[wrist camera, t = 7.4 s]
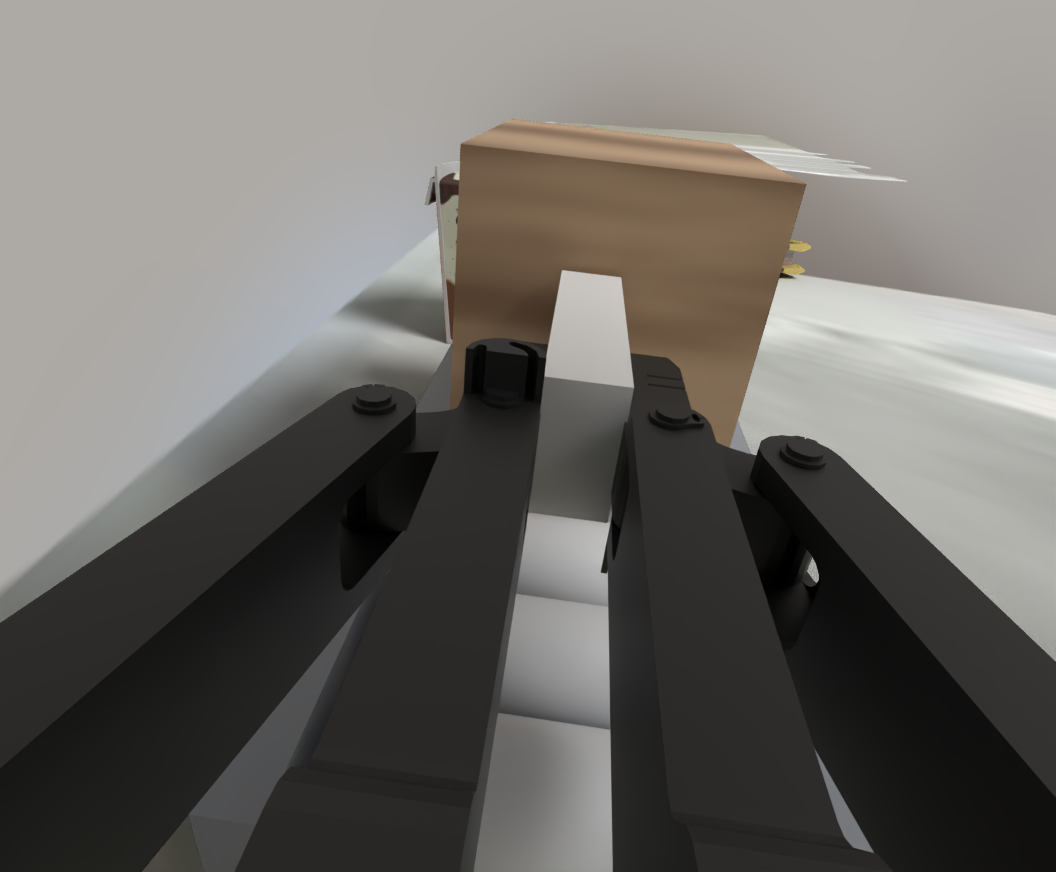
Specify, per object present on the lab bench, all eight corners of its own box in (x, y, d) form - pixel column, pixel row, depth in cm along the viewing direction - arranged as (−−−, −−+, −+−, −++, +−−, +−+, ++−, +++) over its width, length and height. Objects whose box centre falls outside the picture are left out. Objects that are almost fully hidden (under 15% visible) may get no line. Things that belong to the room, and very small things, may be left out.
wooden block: (713, 504, 19) (806, 184, 15) (447, 468, 20) (460, 143, 15) (678, 371, 28) (730, 144, 23) (494, 347, 28) (512, 118, 24)
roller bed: (851, 1040, 12) (1073, 778, 8) (221, 934, 12) (138, 638, 9) (690, 418, 34) (729, 265, 30) (463, 388, 34) (471, 234, 30)
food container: (617, 328, 45) (644, 174, 40) (623, 363, 39) (655, 190, 35) (439, 308, 45) (444, 152, 40) (422, 340, 39) (425, 164, 35)
